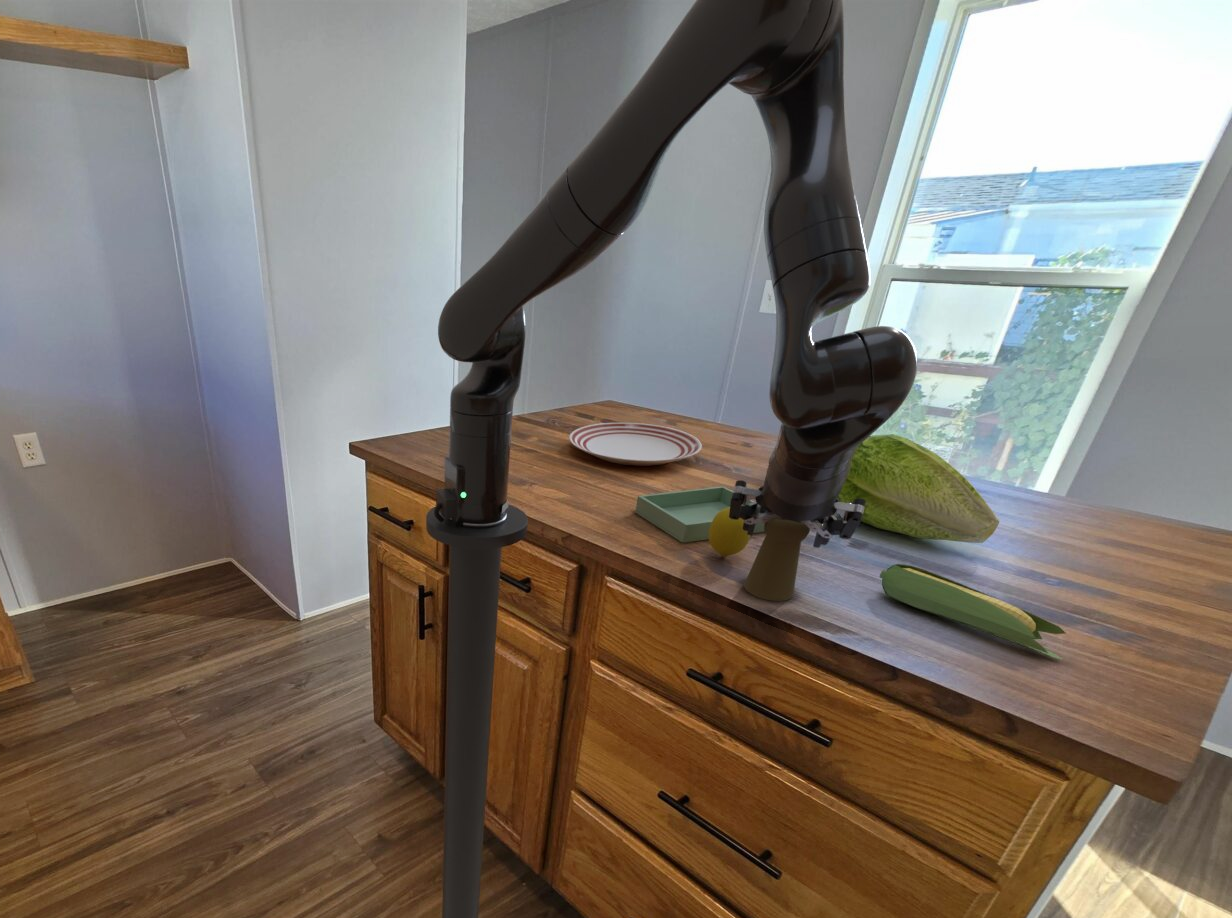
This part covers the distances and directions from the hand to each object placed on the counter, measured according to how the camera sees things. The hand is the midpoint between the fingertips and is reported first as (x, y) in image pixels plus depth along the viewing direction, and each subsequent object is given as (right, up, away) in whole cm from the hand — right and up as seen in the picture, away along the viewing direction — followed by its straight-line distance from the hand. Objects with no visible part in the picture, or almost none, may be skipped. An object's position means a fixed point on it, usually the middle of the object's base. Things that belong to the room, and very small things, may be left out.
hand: (784, 534), depth 85 cm
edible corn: (+19, -12, -5) cm, 23 cm away
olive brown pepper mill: (-1, -7, +3) cm, 8 cm away
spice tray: (-1, +5, +24) cm, 24 cm away
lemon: (-3, -2, +12) cm, 12 cm away
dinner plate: (-2, +23, +57) cm, 62 cm away
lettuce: (+29, +3, +21) cm, 36 cm away
